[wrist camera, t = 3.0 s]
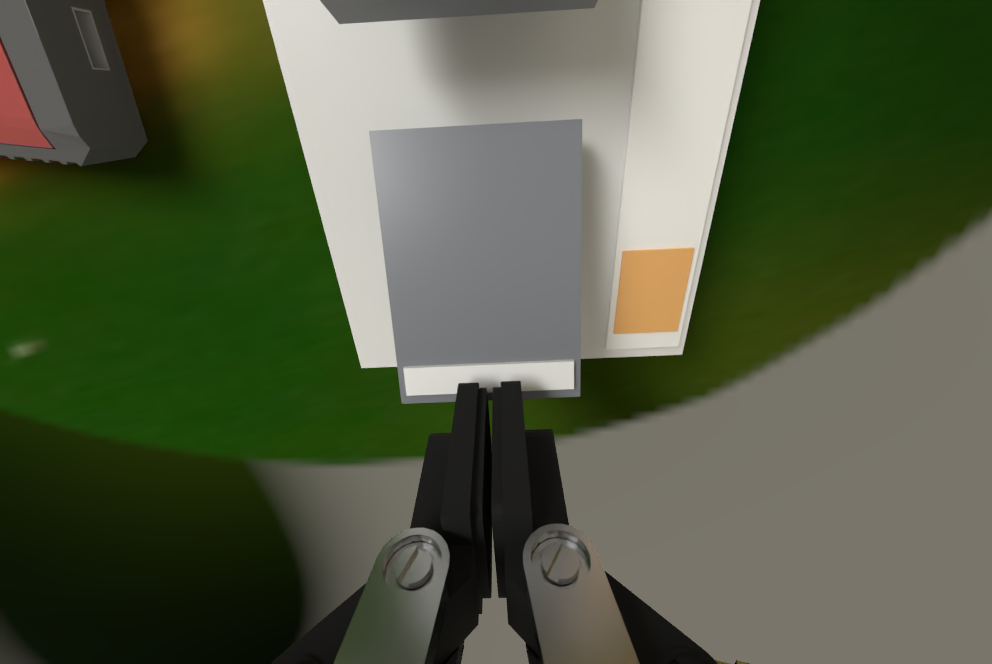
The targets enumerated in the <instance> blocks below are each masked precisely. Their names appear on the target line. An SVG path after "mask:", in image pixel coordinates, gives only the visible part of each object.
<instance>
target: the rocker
mask: <svg viewBox="0 0 992 664" xmlns="http://www.w3.org/2000/svg"><path fill="white" fill-rule="evenodd" d="M369 136H370V144H371V153H372V161H373V169H374V177H375V186H376V194H377V202H378V211H379V219H380V227H381V235H382V244H383V252H384V260H385V269H386V277H387V285H388V294H389V302H390V310H391V318H392V327H393V335H394V343H395V352H396V360H397V368H398V376H399V385H400V393H401V401H402V404H406V403H431V402H456V396H457V388H458V384H459V383H479V388H487V396H488V400H493V387H501V382H503V381H521V391H522V399H532V398H558V397H580V366H581V231H582V119H572V120H554V121H537V122H519V123H501V124H483V125H466V126H448V127H430V128H413V129H395V130H377V131H369Z"/></svg>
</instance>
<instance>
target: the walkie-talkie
mask: <svg viewBox="0 0 992 664" xmlns="http://www.w3.org/2000/svg"><path fill="white" fill-rule="evenodd" d="M147 141H148V140H147V137H146V134H145V130H144V127H143V124H142V121H141V117H140V114H139V111H138V108H137V105H136V101H135V98H134V95H133V92H132V88H131V85H130V82H129V79H128V76H127V72H126V69H125V66H124V63H123V59H122V56H121V53H120V50H119V47H118V43H117V40H116V37H115V34H114V30H113V27H112V24H111V21H110V18H109V14H108V11H107V8H106V5H105V1H104V0H0V157H8V158H10V159H23V158H25V159H26V160H27V161H38V160H43V161H44V162H46V163H53V162H60V163H62V164H67V165H68V164H74V163H77V164H78V165H79V166H85V165H91V164H97V163H103V162H109V161H115V160H121V159H127V158H133V157H136V156H137V154H138V153H139V152H140V150H141V149H142V148H143V147H144V145H145V144H146V143H147Z"/></svg>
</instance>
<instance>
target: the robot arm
mask: <svg viewBox="0 0 992 664" xmlns="http://www.w3.org/2000/svg"><path fill="white" fill-rule="evenodd" d="M492 528H493V539H494V551H495V562H496V573H497V584H498V596H499V598H507V610H508V611H507V612H508V624H509V625H510V626H511V627H512V628H513V629H514V630H515V631H516V632H517V634H518V635H519V636H520V637H521V638H522V639H523V640H524V641H525V642H526V651H527V657H528V662H529V664H729V663H724V662H721V661H717V660H714V659H713V658H712V657H711V656H710V655H709V654H708V653H707V652H706V651H704V650H703V649H702V648H701V647H700V646H698V645H697V644H696V643H695V642H693V641H692V640H691V639H690V638H688V637H687V636H686V635H684V634H683V633H682V632H681V631H680V630H678V629H677V628H676V627H675V626H673V625H672V624H671V623H670V622H668V621H667V620H666V619H664V618H663V617H662V616H661V615H659V614H658V613H657V612H656V611H654V610H653V609H652V608H651V607H649V606H648V605H647V604H646V603H644V602H643V601H642V600H641V599H639V598H638V597H637V596H635V595H634V594H633V593H632V592H631V591H629V590H628V589H627V588H626V587H624V586H623V585H622V584H621V583H619V582H618V581H617V580H616V579H614V578H613V577H612V576H610V575H609V574H608V573H607V572H606V571H604V569H603V566H602V564H601V561H600V558H599V556H598V553H597V551H596V549H595V547H594V545H593V544H592V542H591V540H590V539H589V538H588V537H587V536H586V535H585V534H584V533H583V532H581V531H579V530H578V529H576V528H574V527H572V526H569V523H568V517H567V512H566V505H565V500H564V494H563V488H562V482H561V476H560V470H559V464H558V458H557V453H556V447H555V441H554V435H553V431H552V429H547V430H525V425H524V414H523V402H522V391H521V381H503V382H501V387H493V417H492V448H491V435H490V422H489V409H488V396H487V388H479V383H459V384H458V388H457V396H456V403H455V410H454V418H453V425H452V432H451V433H437V434H430V436H429V439H428V443H427V448H426V453H425V458H424V463H423V468H422V473H421V478H420V483H419V488H418V493H417V498H416V503H415V508H414V513H413V518H412V523H411V527H410V529H408V530H406V531H402V532H400V533H399V534H397V535H396V536H394V537H393V538H391V539H390V540H389V541H388V542H387V543H386V544H385V546H384V547H383V548H382V550H381V552H380V553H379V555H378V557H377V559H376V561H375V564H374V566H373V569H372V571H371V573H370V576H369V578H368V581H367V583H366V584H365V585H363V586H362V587H361V588H360V589H359V590H357V591H356V592H355V593H354V594H353V595H352V596H350V597H349V598H348V599H347V600H346V601H344V602H343V603H342V604H341V605H340V606H338V607H337V608H336V609H335V610H334V611H333V612H331V613H330V614H329V615H328V616H327V617H325V618H324V619H323V620H322V621H321V622H319V623H318V624H317V625H316V626H315V627H313V628H312V629H311V630H310V631H309V632H307V633H306V634H305V635H304V636H303V637H302V638H300V639H299V640H298V641H297V642H296V643H295V644H293V645H292V646H291V647H290V648H288V649H287V650H286V651H285V652H284V653H283V654H282V655H280V656H279V657H278V658H277V659H275V660H274V661H273V662H272V663H271V664H461V661H462V656H463V650H464V640H465V639H466V637H467V636H468V635H469V634H470V633H471V632H472V631H473V630H474V629H475V627H476V626H477V625H478V616H479V615H478V614H482V598H491V586H492V585H491V584H492V582H491V580H492ZM735 664H749V663H745V662H741V661H737V660H736V662H735Z"/></svg>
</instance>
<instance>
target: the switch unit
mask: <svg viewBox="0 0 992 664" xmlns="http://www.w3.org/2000/svg"><path fill="white" fill-rule="evenodd" d="M263 3H264V7H265V10H266V14H267V18H268V21H269V25H270V29H271V33H272V36H273V40H274V44H275V48H276V51H277V55H278V59H279V62H280V66H281V70H282V74H283V77H284V81H285V85H286V89H287V92H288V96H289V100H290V103H291V107H292V111H293V115H294V118H295V122H296V126H297V130H298V133H299V137H300V141H301V144H302V148H303V152H304V156H305V159H306V163H307V167H308V171H309V174H310V178H311V182H312V185H313V189H314V193H315V197H316V200H317V204H318V208H319V212H320V215H321V219H322V223H323V226H324V230H325V234H326V238H327V241H328V245H329V249H330V253H331V256H332V260H333V264H334V267H335V271H336V275H337V279H338V282H339V286H340V290H341V294H342V297H343V301H344V305H345V308H346V312H347V316H348V320H349V323H350V327H351V331H352V335H353V338H354V342H355V346H356V349H357V353H358V357H359V361H360V364H361V368H375V367H397V360H396V352H395V343H394V335H393V327H392V318H391V310H390V302H389V294H388V285H387V277H386V269H385V260H384V252H383V244H382V235H381V227H380V219H379V211H378V202H377V194H376V186H375V177H374V169H373V161H372V153H371V144H370V136H369V131H377V130H395V129H413V128H430V127H448V126H466V125H483V124H501V123H519V122H537V121H554V120H572V119H582V231H581V359H590V358H614V357H637V356H661V355H682V353H683V348H684V344H685V339H686V334H687V330H688V325H689V321H690V316H691V312H692V307H693V303H694V298H695V294H696V289H697V285H698V280H699V276H700V271H701V267H702V262H703V257H704V253H705V248H706V244H707V239H708V235H709V230H710V226H711V221H712V217H713V212H714V208H715V203H716V199H717V194H718V189H719V185H720V180H721V176H722V171H723V167H724V162H725V158H726V153H727V149H728V144H729V140H730V135H731V131H732V126H733V121H734V117H735V112H736V108H737V103H738V99H739V94H740V90H741V85H742V81H743V76H744V72H745V67H746V63H747V58H748V53H749V49H750V44H751V40H752V35H753V31H754V26H755V22H756V17H757V13H758V8H759V4H760V0H598V1H597V3H596V6H595V8H588V9H572V10H556V11H540V12H524V13H508V14H493V15H477V16H461V17H445V18H429V19H413V20H398V21H382V22H366V23H350V24H339V23H338V22H337V21H336V20H335V18H334V17H333V16H332V15H331V13H330V12H329V11H328V10H327V9H326V7H325V6H324V5H323V4H322V2H321V1H320V0H263Z"/></svg>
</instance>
